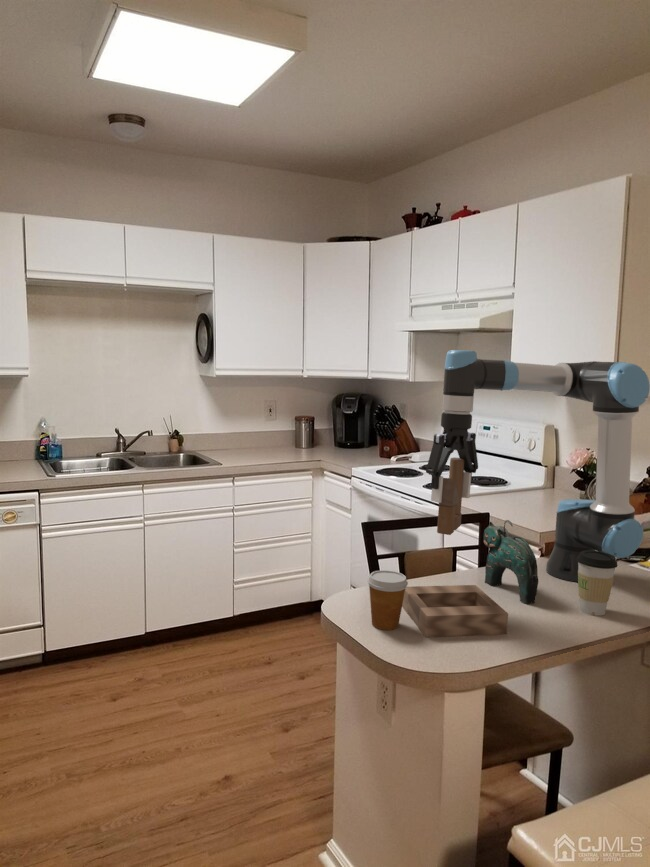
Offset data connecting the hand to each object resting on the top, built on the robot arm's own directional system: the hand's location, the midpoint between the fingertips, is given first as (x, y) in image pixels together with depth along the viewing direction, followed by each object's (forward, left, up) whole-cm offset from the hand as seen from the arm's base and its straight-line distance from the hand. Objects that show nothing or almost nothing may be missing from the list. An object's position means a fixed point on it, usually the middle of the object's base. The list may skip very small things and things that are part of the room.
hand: (450, 499), depth 167 cm
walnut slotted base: (+1, +8, -28) cm, 29 cm away
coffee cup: (-39, +6, -29) cm, 48 cm away
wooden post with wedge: (0, 0, -8) cm, 8 cm away
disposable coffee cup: (+18, +10, -29) cm, 35 cm away
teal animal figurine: (-23, -9, -29) cm, 38 cm away
